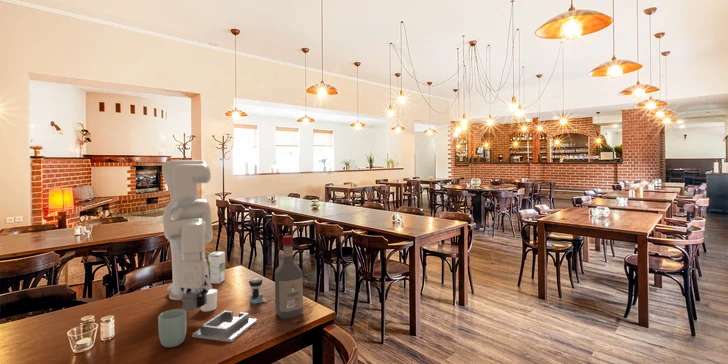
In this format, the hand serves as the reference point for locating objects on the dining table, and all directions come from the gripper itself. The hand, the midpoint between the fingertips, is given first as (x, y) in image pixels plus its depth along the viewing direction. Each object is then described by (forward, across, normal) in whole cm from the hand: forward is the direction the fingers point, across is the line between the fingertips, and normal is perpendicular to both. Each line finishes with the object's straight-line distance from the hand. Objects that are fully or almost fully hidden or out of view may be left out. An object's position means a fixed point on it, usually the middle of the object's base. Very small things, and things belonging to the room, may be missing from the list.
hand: (195, 304), depth 127 cm
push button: (+7, +12, +22) cm, 26 cm away
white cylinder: (+7, -4, +12) cm, 14 cm away
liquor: (+6, +30, +14) cm, 34 cm away
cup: (+6, +4, -15) cm, 17 cm away
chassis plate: (+6, +14, -2) cm, 16 cm away
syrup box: (+7, -22, +41) cm, 47 cm away
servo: (+1, 0, 0) cm, 1 cm away
